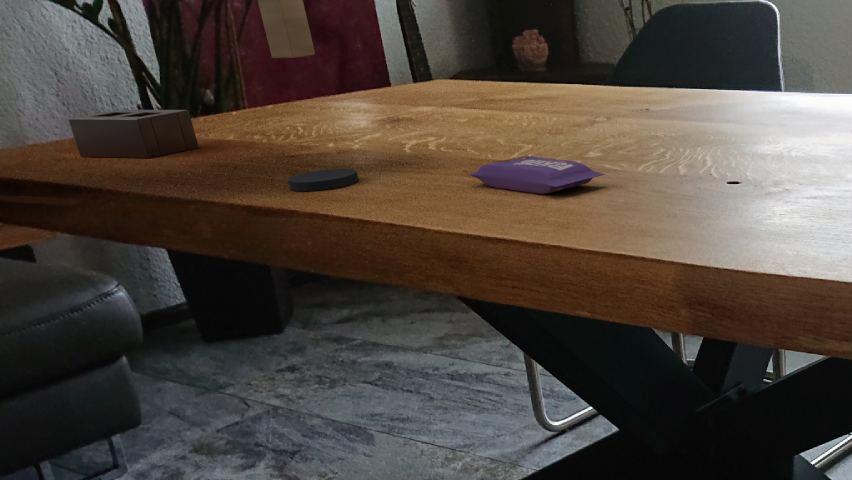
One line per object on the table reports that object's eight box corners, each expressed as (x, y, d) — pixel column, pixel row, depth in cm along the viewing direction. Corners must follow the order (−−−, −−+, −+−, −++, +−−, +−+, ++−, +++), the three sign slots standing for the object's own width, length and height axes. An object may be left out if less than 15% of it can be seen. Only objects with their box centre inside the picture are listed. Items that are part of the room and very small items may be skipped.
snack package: (604, 161, 85) (554, 174, 82) (608, 186, 86) (558, 199, 83) (513, 151, 92) (463, 162, 89) (517, 174, 93) (468, 186, 90)
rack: (148, 158, 114) (137, 119, 113) (80, 156, 119) (67, 118, 117) (199, 147, 119) (188, 109, 118) (131, 146, 124) (120, 109, 122)
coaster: (287, 194, 91) (285, 184, 91) (292, 182, 96) (290, 173, 96) (358, 186, 93) (356, 176, 92) (359, 175, 98) (357, 166, 97)
